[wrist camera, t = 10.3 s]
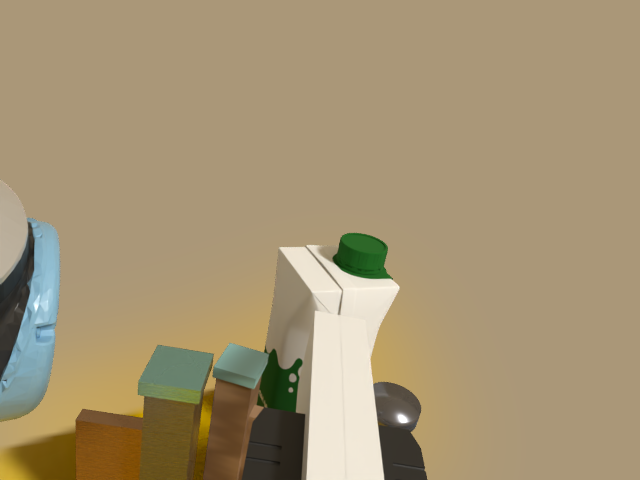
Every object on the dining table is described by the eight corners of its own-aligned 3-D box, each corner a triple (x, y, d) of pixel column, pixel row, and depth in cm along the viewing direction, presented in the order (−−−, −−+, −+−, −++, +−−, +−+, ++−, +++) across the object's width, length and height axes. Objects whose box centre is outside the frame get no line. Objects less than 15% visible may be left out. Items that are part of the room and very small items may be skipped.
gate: (194, 515, 37) (213, 366, 32) (210, 485, 39) (229, 342, 34) (314, 555, 36) (355, 408, 31) (322, 521, 38) (360, 380, 33)
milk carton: (361, 457, 46) (417, 267, 39) (269, 477, 43) (311, 270, 35) (323, 393, 54) (364, 221, 46) (241, 405, 50) (271, 220, 42)
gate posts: (67, 544, 34) (64, 369, 29) (90, 499, 38) (92, 334, 32) (369, 586, 36) (425, 426, 30) (366, 538, 39) (415, 386, 33)
